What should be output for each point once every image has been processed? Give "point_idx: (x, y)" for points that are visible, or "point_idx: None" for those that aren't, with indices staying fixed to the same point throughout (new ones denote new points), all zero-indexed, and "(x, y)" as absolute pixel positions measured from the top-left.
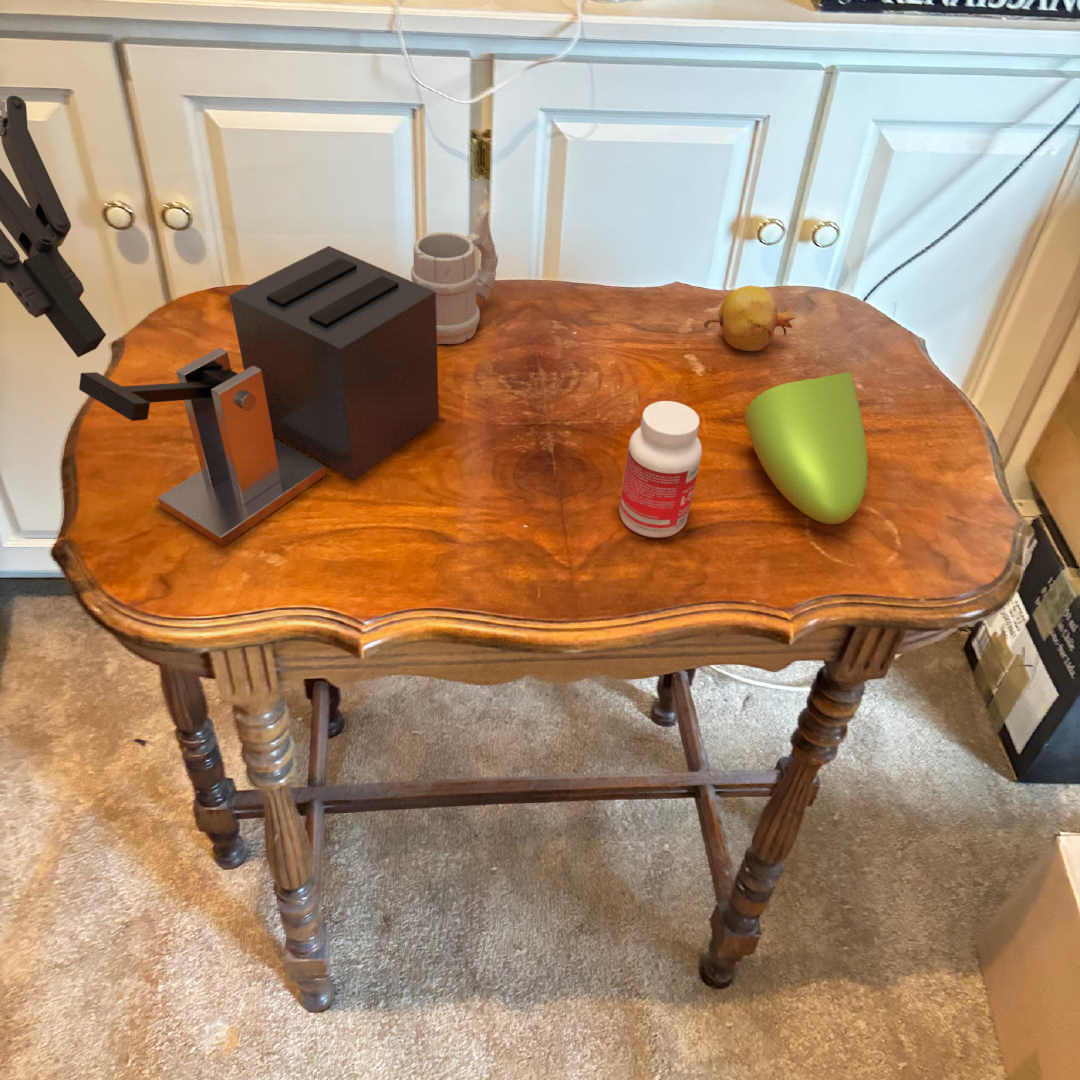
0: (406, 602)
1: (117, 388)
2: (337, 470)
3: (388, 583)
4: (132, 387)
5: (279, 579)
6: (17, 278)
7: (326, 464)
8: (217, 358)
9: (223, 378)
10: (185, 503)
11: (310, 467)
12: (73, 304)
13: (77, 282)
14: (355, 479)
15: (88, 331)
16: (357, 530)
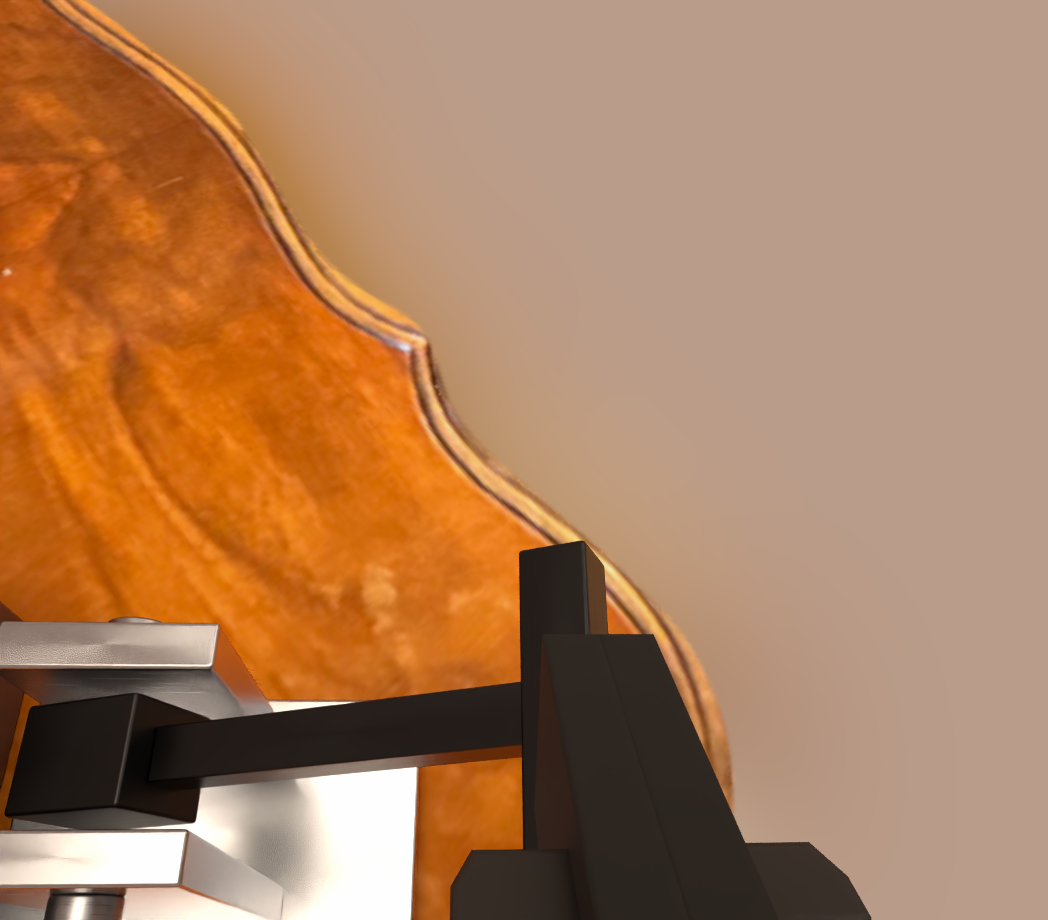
0: (322, 325)
1: None
2: (22, 692)
3: (299, 374)
4: (472, 729)
5: (419, 539)
6: None
7: (11, 737)
8: (6, 830)
9: (113, 709)
10: (381, 885)
11: None
12: (622, 745)
13: (474, 903)
14: None
15: (618, 659)
16: (198, 513)
